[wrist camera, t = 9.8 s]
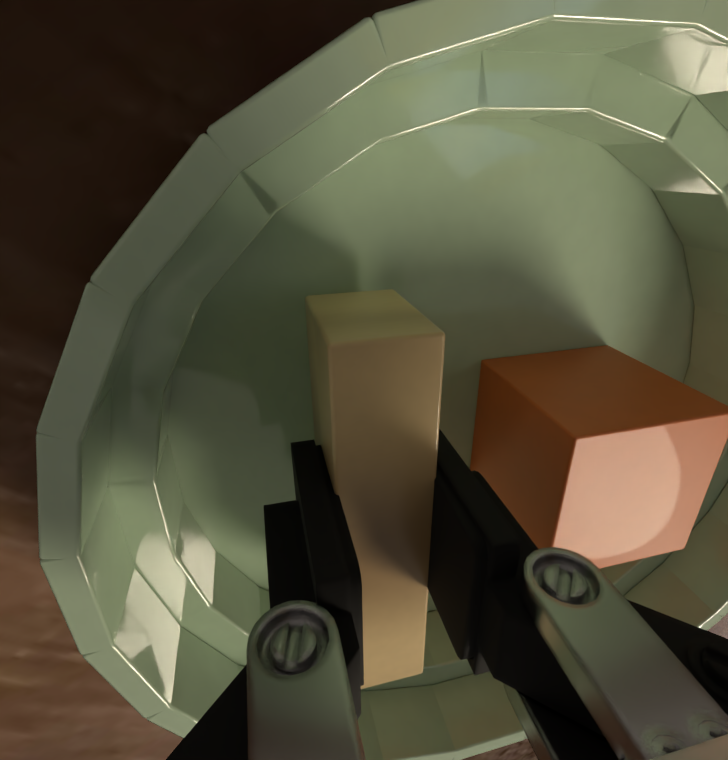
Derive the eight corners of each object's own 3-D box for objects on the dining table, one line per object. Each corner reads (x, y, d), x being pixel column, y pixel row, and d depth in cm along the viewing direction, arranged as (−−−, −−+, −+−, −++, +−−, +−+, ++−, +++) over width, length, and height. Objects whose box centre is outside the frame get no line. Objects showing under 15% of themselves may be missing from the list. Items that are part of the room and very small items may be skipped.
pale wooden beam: (304, 294, 10) (327, 344, 7) (394, 288, 10) (447, 331, 8) (325, 592, 14) (345, 695, 11) (389, 578, 14) (423, 674, 11)
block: (480, 358, 12) (575, 437, 9) (607, 344, 13) (740, 410, 10) (468, 478, 14) (543, 582, 11) (581, 458, 15) (685, 549, 12)
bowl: (-12, 22, 8) (-263, -113, 4) (808, 56, 12) (1098, 3, 8) (184, 679, 16) (166, 852, 12) (634, 571, 20) (734, 675, 16)
